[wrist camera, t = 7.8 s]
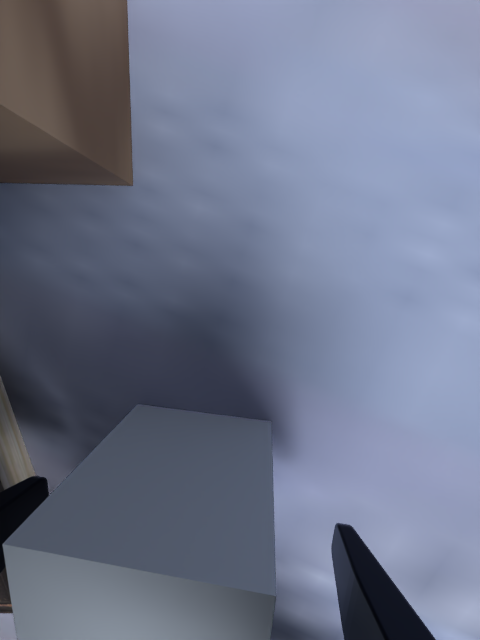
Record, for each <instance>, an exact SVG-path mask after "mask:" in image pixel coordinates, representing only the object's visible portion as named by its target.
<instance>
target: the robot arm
mask: <svg viewBox="0 0 480 640" xmlns="http://www.w3.org/2000/svg"><path fill="white" fill-rule="evenodd" d="M48 496H49V492H48V483H47V479H46V478H44V477H39V476H32V477H29V478H27V479H25V480H23V481H21V482H19V483H17V484H15V485H13V486H11V487H9V488H7V489H5V490H3V491H1V492H0V574H1V572H2V571H3V570H4V568H5V567H6V564H5V557H4V551H3V543H4V542H5V541H6V540H7V539H8V538H9V537H10V536H11V535H12V534H13V533H14V532H15V531H16V530H17V529H18V527H19V526H20V525H21V524H22V523H23V522H24V521H25V520H26V519H27V518H28V517H29V516H30V515H31V514H32V513H33V512H34V511H35V510H36V509H37V508H38V507H39V506H40V505H41V504H42V503H43V502H44V501H45V499H46V498H47V497H48ZM332 560H333V567H334V574H335V581H336V588H337V595H338V602H339V608H340V615H341V622H342V629H343V634H344V639H345V640H436V639H435V638H434V637H433V635H432V634H431V632H430V631H429V630H428V628H427V627H426V626H425V624H424V623H423V622H422V620H421V619H420V618H419V616H418V615H417V614H416V612H415V611H414V610H413V608H412V607H411V605H410V604H409V603H408V601H407V600H406V599H405V597H404V596H403V595H402V593H401V592H400V591H399V589H398V588H397V587H396V585H395V584H394V582H393V581H392V580H391V578H390V577H389V576H388V574H387V573H386V572H385V570H384V569H383V568H382V566H381V565H380V564H379V562H378V561H377V559H376V558H375V557H374V555H373V554H372V553H371V551H370V550H369V549H368V547H367V546H366V545H365V543H364V542H363V541H362V539H361V538H360V537H359V535H358V534H357V532H356V531H355V530H354V528H353V527H352V526H350V525H347V524H341V523H337V524H336V525H335V529H334V535H333V540H332Z"/></svg>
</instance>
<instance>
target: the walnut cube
mask: <svg viewBox="0 0 480 640" xmlns="http://www.w3.org/2000/svg"><path fill="white" fill-rule="evenodd" d="M0 183H32V184H77V185H122V186H133V169H132V138H131V107H130V76H129V44H128V13H127V0H0Z"/></svg>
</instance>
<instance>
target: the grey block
mask: <svg viewBox="0 0 480 640" xmlns="http://www.w3.org/2000/svg"><path fill="white" fill-rule="evenodd" d="M3 551H4V557H5V564H6V570H7V577H8V584H9V590H10V597H11V603H12V610H13V617H14V623H15V630H16V636H17V640H270V638H271V630H272V623H273V616H274V608H275V601H276V572H275V535H274V497H273V459H272V422H271V421H265V420H257V419H250V418H242V417H234V416H226V415H219V414H211V413H203V412H195V411H187V410H180V409H172V408H164V407H156V406H149V405H141V404H137V405H136V406H135V407H134V408H133V409H132V410H131V411H130V412H129V413H128V414H127V416H126V417H125V418H124V419H123V420H122V421H121V422H120V423H119V424H118V425H117V426H116V427H115V428H114V429H113V430H112V431H111V432H110V433H109V434H108V435H107V436H106V437H105V438H104V439H103V440H102V441H101V442H100V443H99V445H98V446H97V447H96V448H95V449H94V450H93V451H92V452H91V453H90V454H89V455H88V456H87V457H86V458H85V459H84V460H83V461H82V462H81V463H80V464H79V465H78V466H77V467H76V468H75V469H74V470H73V471H72V473H71V474H70V475H69V476H68V477H67V478H66V479H65V480H64V481H63V482H62V483H61V484H60V485H59V486H58V487H57V488H56V489H55V490H54V491H53V492H52V493H51V494H50V495H49V496H48V497H47V498H46V499H45V501H44V502H43V503H42V504H41V505H40V506H39V507H38V508H37V509H36V510H35V511H34V512H33V513H32V514H31V515H30V516H29V517H28V518H27V519H26V520H25V521H24V522H23V523H22V524H21V525H20V526H19V527H18V529H17V530H16V531H15V532H14V533H13V534H12V535H11V536H10V537H9V538H8V539H7V540H6V541H5V542H4V543H3Z"/></svg>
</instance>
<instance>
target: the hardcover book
mask: <svg viewBox="0 0 480 640" xmlns="http://www.w3.org/2000/svg"><path fill="white" fill-rule="evenodd" d="M32 476H36V475H35V472H34V469H33V466H32V464H31V461H30V458H29V455H28V452H27V449H26V447H25V444H24V441H23V438H22V435H21V432H20V430H19V427H18V424H17V421H16V418H15V415H14V413H13V410H12V407H11V404H10V401H9V398H8V396H7V393H6V390H5V387H4V384H3V382H2V379H1V376H0V492H1V491H3V490H5V489H7V488H9V487H11V486H13V485H15V484H17V483H19V482H21V481H23V480H25V479H27V478H29V477H32ZM0 613H13V610H12V603H11V597H10V590H9V584H8V577H7V570H6V567H5V568H4V570H3V571H2V572H1V574H0Z"/></svg>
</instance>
